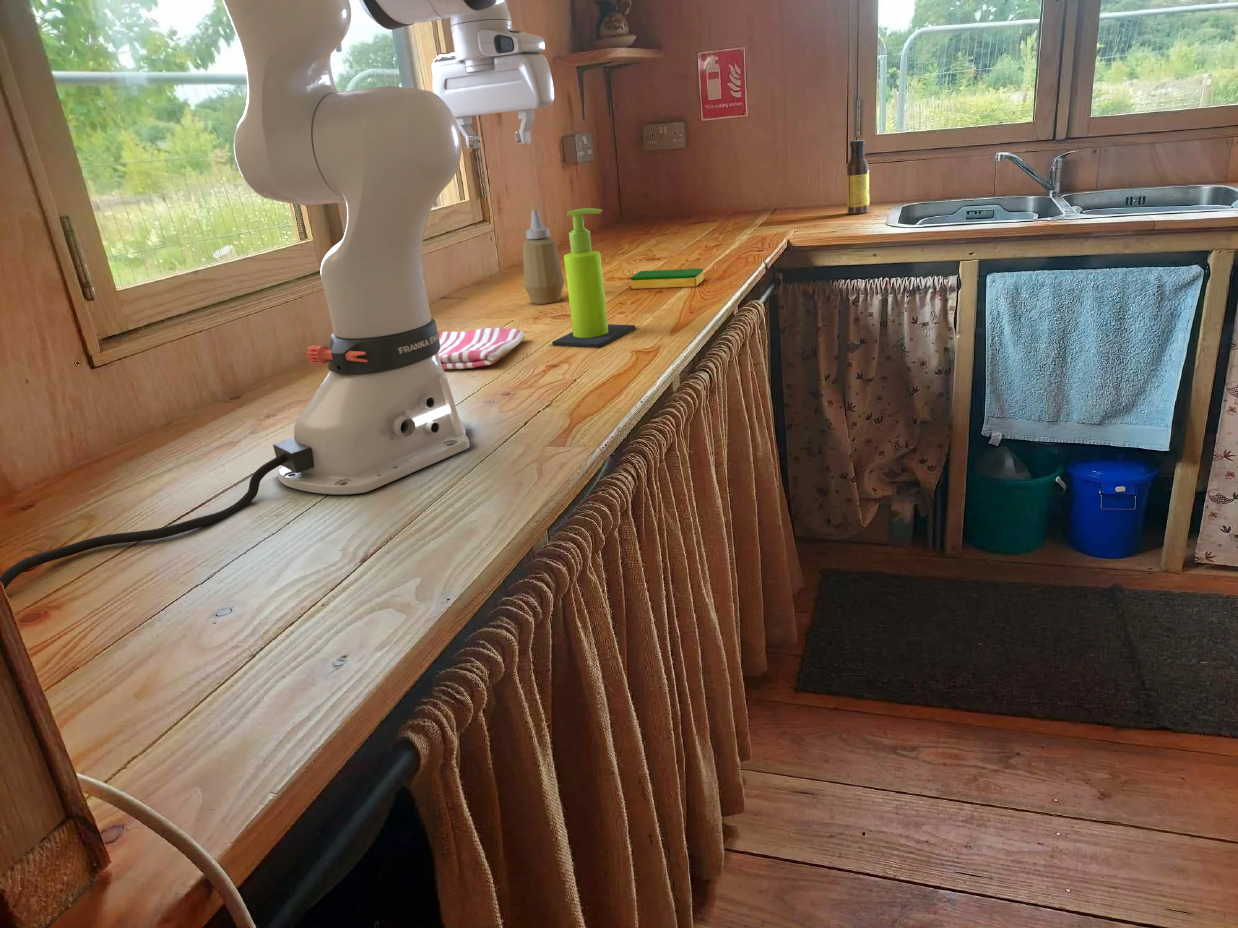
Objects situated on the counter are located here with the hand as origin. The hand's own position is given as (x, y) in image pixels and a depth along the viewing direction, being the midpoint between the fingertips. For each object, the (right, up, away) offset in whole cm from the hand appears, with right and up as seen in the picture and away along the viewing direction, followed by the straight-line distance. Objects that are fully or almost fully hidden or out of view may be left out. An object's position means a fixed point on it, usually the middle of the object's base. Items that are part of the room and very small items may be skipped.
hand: (498, 146), depth 132 cm
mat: (+14, -27, +13) cm, 33 cm away
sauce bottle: (+88, +24, +120) cm, 151 cm away
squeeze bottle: (+4, -15, +44) cm, 47 cm away
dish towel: (-10, -31, +10) cm, 34 cm away
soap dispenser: (+14, -27, +12) cm, 33 cm away
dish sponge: (+28, -11, +48) cm, 57 cm away
